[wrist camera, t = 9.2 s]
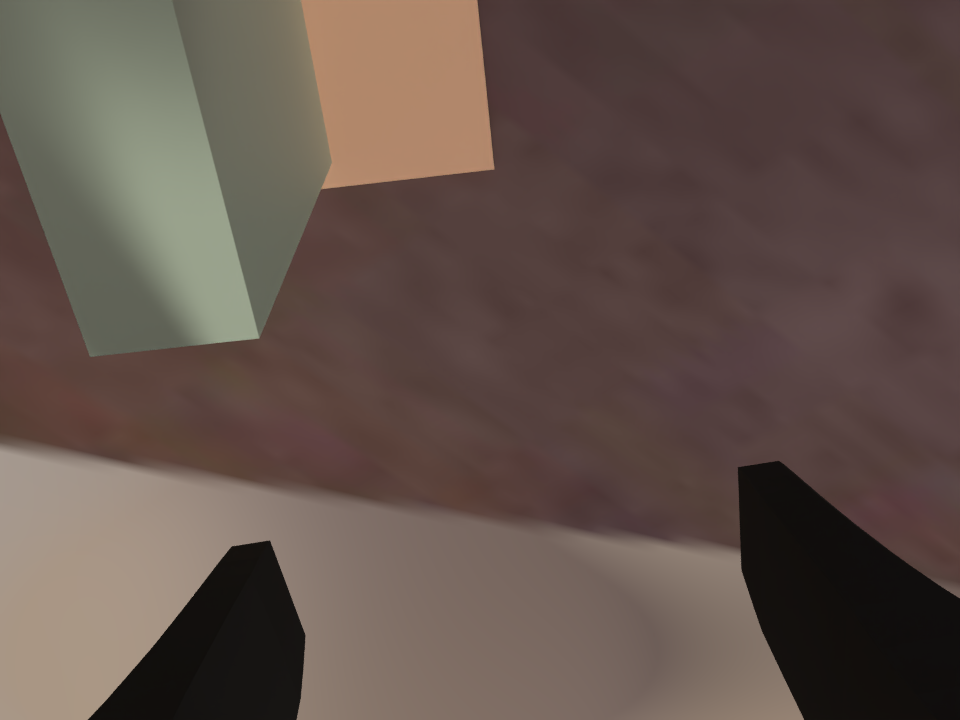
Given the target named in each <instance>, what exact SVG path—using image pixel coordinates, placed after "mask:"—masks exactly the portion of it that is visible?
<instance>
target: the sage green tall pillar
mask: <svg viewBox="0 0 960 720" xmlns="http://www.w3.org/2000/svg"><path fill="white" fill-rule="evenodd" d="M0 113H1V116H2V119H3V122H4V124H5V127H6V130H7V132H8V135H9V138H10V141H11V143H12V146H13V149H14V151H15V154H16V157H17V160H18V162H19V165H20V168H21V170H22V173H23V176H24V179H25V181H26V184H27V187H28V189H29V192H30V195H31V198H32V200H33V203H34V206H35V208H36V211H37V214H38V217H39V219H40V222H41V225H42V227H43V230H44V233H45V235H46V238H47V241H48V244H49V246H50V249H51V252H52V254H53V257H54V260H55V263H56V265H57V268H58V271H59V273H60V276H61V279H62V282H63V284H64V287H65V290H66V292H67V295H68V298H69V301H70V303H71V306H72V309H73V311H74V314H75V317H76V320H77V322H78V325H79V328H80V330H81V333H82V336H83V339H84V341H85V344H86V347H87V349H88V352H89V355H90V357H93V356H102V355H111V354H120V353H129V352H138V351H147V350H156V349H165V348H175V347H184V346H193V345H202V344H211V343H220V342H229V341H238V340H247V339H257V338H260V335H261V333H262V331H263V328H264V326H265V323H266V321H267V318H268V316H269V314H270V311H271V309H272V306H273V304H274V302H275V299H276V297H277V294H278V292H279V289H280V287H281V285H282V282H283V280H284V277H285V275H286V273H287V270H288V268H289V265H290V263H291V261H292V258H293V256H294V253H295V251H296V248H297V246H298V244H299V241H300V239H301V236H302V234H303V232H304V229H305V227H306V224H307V222H308V219H309V217H310V215H311V212H312V210H313V207H314V205H315V203H316V200H317V198H318V195H319V193H320V191H321V188H322V186H323V183H324V181H325V178H326V176H327V174H328V171H329V169H330V166H331V164H332V160H331V155H330V149H329V144H328V139H327V134H326V129H325V123H324V118H323V113H322V108H321V102H320V97H319V92H318V87H317V82H316V76H315V71H314V66H313V61H312V56H311V50H310V45H309V40H308V35H307V29H306V24H305V19H304V14H303V9H302V3H301V0H0Z"/></svg>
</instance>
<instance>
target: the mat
mask: <svg viewBox="0 0 960 720" xmlns="http://www.w3.org/2000/svg"><path fill="white" fill-rule="evenodd" d="M301 3H302V9H303V14H304V19H305V24H306V29H307V35H308V40H309V45H310V50H311V56H312V61H313V66H314V71H315V76H316V82H317V87H318V92H319V97H320V102H321V108H322V113H323V118H324V123H325V129H326V134H327V139H328V144H329V149H330V155H331V160H332V164H331V166H330V169H329V171H328V174H327V176H326V178H325V181H324V183H323V186H322V188H321V189H326V188H334V187H343V186H352V185H361V184H370V183H378V182H387V181H396V180H405V179H413V178H422V177H431V176H440V175H448V174H457V173H466V172H475V171H483V170H492V169H494V162H493V152H492V142H491V132H490V122H489V112H488V102H487V92H486V82H485V73H484V63H483V53H482V43H481V33H480V23H479V13H478V3H477V0H301Z"/></svg>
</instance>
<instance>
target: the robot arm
mask: <svg viewBox="0 0 960 720" xmlns="http://www.w3.org/2000/svg"><path fill="white" fill-rule="evenodd" d="M738 483H739V512H740V540H741V568H742V573H743V576H744V579H745V582H746V585H747V588H748V591H749V594H750V597H751V600H752V603H753V606H754V609H755V612H756V615H757V618H758V621H759V624H760V626H761V629H762V632H763V634H764V636H765V638H766V640H767V643H768V645H769V647H770V649H771V651H772V653H773V655H774V657H775V660H776V662H777V664H778V666H779V668H780V670H781V672H782V674H783V676H784V679H785V681H786V683H787V685H788V687H789V689H790V691H791V693H792V695H793V697H794V699H795V701H796V703H797V706H798V708H799V710H800V711H801V713H802V716H803V718H804V720H960V598H958V597H957V596H955V595H953V594H952V593H950V592H949V591H947V590H945V589H944V588H942V587H941V586H939V585H938V584H936V583H935V582H933V581H932V580H931V579H929V578H928V577H926V576H925V575H923V574H922V573H920V572H919V571H917V570H916V569H915V568H913V567H912V566H910V565H909V564H907V563H906V562H905V561H903V560H902V559H901V558H899V557H898V556H896V555H895V554H894V553H892V552H891V551H890V550H888V549H887V548H886V547H884V546H883V545H882V544H880V543H879V542H878V541H876V540H875V539H874V538H873V537H871V536H870V535H869V534H867V533H866V532H865V531H863V530H862V529H861V528H860V527H858V526H857V525H856V524H854V523H853V522H852V521H851V520H849V519H848V518H847V517H846V516H844V515H843V514H842V513H841V512H840V511H838V510H837V509H836V508H835V507H834V506H832V505H831V504H830V503H829V502H828V501H826V500H825V499H824V498H823V497H822V496H820V495H819V494H818V493H817V492H816V491H815V490H813V489H812V488H811V487H810V486H809V485H808V484H806V483H805V482H804V481H803V480H802V479H801V478H799V477H798V476H797V475H796V474H795V473H794V472H792V471H791V470H790V469H789V468H788V467H787V466H785V465H784V464H782V463H781V462H780V461H775V462H769V463H762V464H756V465H750V466H743V467H738ZM304 650H305V633H304V630H303V628H302V625H301V622H300V620H299V617H298V614H297V612H296V609H295V606H294V604H293V601H292V598H291V596H290V593H289V590H288V588H287V585H286V582H285V580H284V577H283V574H282V572H281V569H280V566H279V564H278V561H277V558H276V556H275V553H274V550H273V547H272V545H271V542H270V541H264V542H258V543H251V544H245V545H239V546H232V547H231V548H230V549H229V551H228V552H227V553H226V554H225V556H224V557H223V558H222V559H221V561H220V562H219V563H218V565H217V566H216V567H215V568H214V570H213V571H212V572H211V574H210V575H209V576H208V577H207V579H206V580H205V581H204V583H203V584H202V585H201V587H200V588H199V589H198V590H197V592H196V593H195V594H194V596H193V597H192V598H191V599H190V601H189V602H188V603H187V605H186V606H185V607H184V608H183V610H182V611H181V612H180V614H179V615H178V616H177V617H176V619H175V620H174V621H173V622H172V624H171V625H170V626H169V627H168V629H167V630H166V631H165V632H164V634H163V635H162V636H161V637H160V639H159V640H158V641H157V642H156V644H155V645H154V646H153V647H152V648H151V650H150V651H149V652H148V653H147V654H146V655H145V657H144V658H143V659H142V660H141V661H140V662H139V664H138V665H137V666H136V667H135V668H134V669H133V670H132V671H131V673H130V674H129V675H128V676H127V677H126V679H125V680H124V681H123V682H122V683H121V684H120V685H119V686H118V687H117V689H116V690H115V691H114V692H113V693H112V694H111V696H110V697H109V698H108V699H107V700H106V701H105V702H104V703H103V704H102V705H101V706H100V708H99V709H98V710H97V711H96V712H95V713H94V714H93V715H92V716H91V717H90V718H89V719H88V720H296V719H297V714H298V709H299V703H300V699H301V689H302V677H303V664H304Z"/></svg>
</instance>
